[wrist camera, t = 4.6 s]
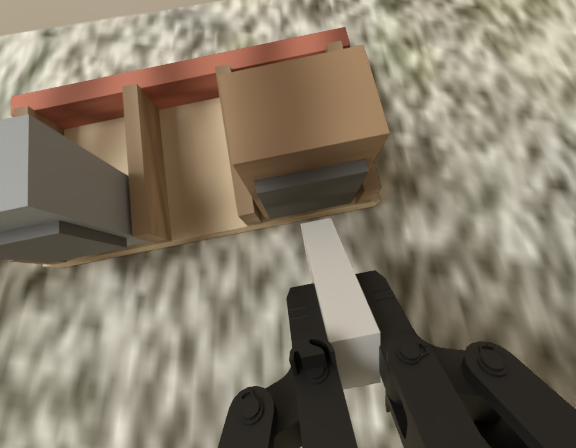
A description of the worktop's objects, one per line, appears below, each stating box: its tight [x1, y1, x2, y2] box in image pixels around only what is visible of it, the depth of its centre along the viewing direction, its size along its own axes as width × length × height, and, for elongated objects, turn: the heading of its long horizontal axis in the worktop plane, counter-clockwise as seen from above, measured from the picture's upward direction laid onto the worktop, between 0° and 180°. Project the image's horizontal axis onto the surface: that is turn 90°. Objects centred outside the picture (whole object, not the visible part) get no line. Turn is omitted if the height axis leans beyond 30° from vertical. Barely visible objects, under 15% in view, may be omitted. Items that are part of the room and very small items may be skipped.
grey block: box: [0, 114, 149, 263], centre depth 16 cm, size 6×5×9 cm
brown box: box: [219, 45, 390, 219], centre depth 15 cm, size 6×5×9 cm
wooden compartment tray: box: [10, 27, 381, 268], centre depth 20 cm, size 24×12×4 cm, turn 101°
